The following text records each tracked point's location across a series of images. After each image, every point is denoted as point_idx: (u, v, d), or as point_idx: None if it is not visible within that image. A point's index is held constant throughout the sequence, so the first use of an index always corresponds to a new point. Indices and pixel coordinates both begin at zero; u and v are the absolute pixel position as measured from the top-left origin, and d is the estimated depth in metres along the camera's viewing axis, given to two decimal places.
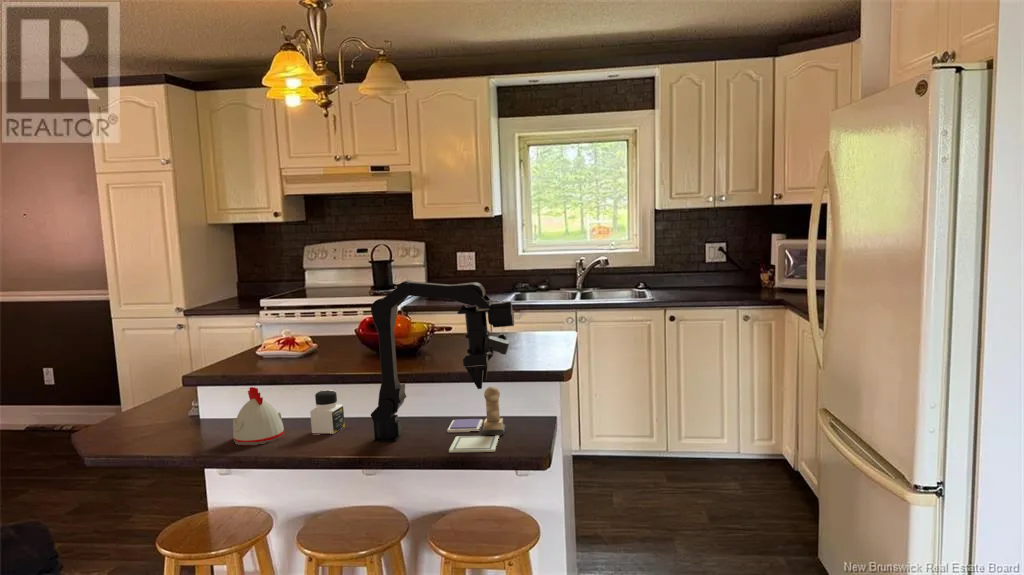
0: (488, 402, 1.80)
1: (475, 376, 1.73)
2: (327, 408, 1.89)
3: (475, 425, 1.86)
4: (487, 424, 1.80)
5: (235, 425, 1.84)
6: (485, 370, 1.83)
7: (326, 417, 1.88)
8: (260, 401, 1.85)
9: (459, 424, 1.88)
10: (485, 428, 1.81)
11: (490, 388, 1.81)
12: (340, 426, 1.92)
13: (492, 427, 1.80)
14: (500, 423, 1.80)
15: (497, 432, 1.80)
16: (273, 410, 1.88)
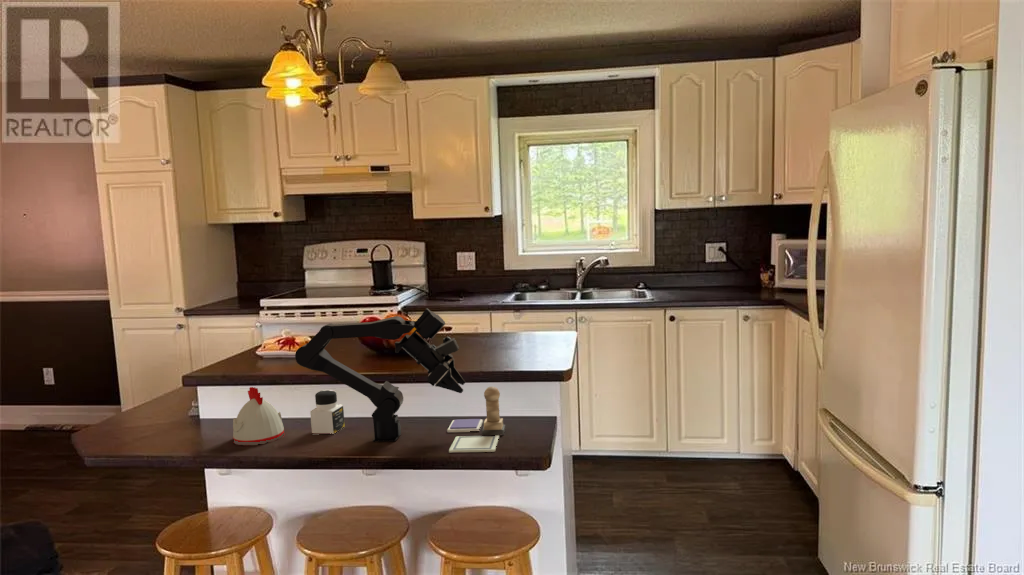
0: (488, 402, 1.80)
1: (450, 385, 1.75)
2: (327, 408, 1.89)
3: (475, 425, 1.86)
4: (487, 424, 1.80)
5: (235, 425, 1.84)
6: (458, 375, 1.86)
7: (326, 417, 1.88)
8: (260, 401, 1.85)
9: (459, 424, 1.88)
10: (485, 428, 1.81)
11: (490, 388, 1.81)
12: (340, 426, 1.92)
13: (492, 427, 1.80)
14: (500, 423, 1.80)
15: (497, 432, 1.80)
16: (273, 410, 1.88)
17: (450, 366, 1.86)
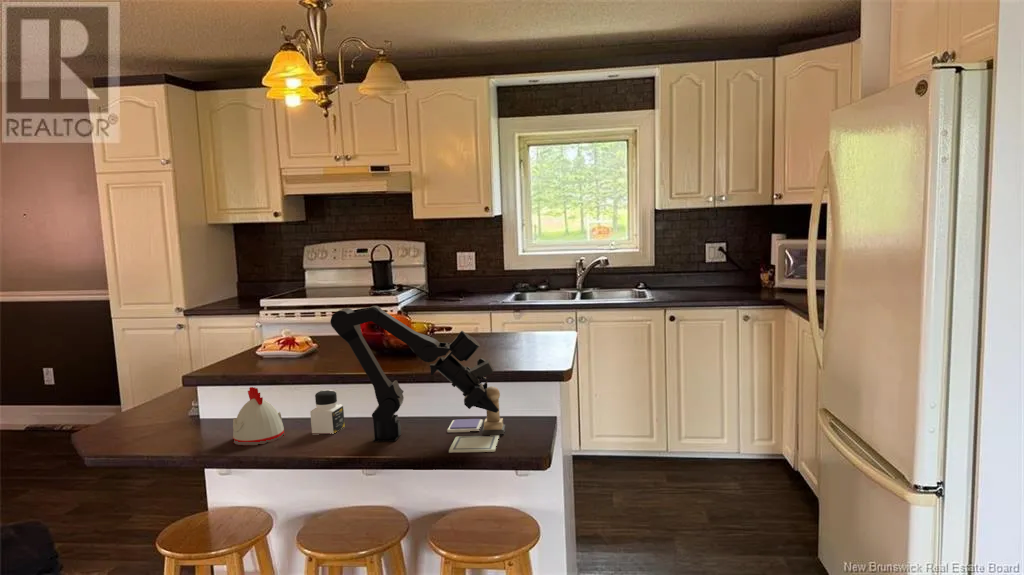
0: None
1: (486, 405, 1.79)
2: (327, 408, 1.89)
3: (475, 425, 1.86)
4: (487, 424, 1.80)
5: (235, 425, 1.84)
6: None
7: (326, 417, 1.88)
8: (260, 401, 1.85)
9: (459, 424, 1.88)
10: (485, 428, 1.81)
11: (490, 388, 1.81)
12: (340, 426, 1.92)
13: (492, 427, 1.80)
14: (500, 423, 1.80)
15: (497, 431, 1.80)
16: (273, 410, 1.88)
17: None
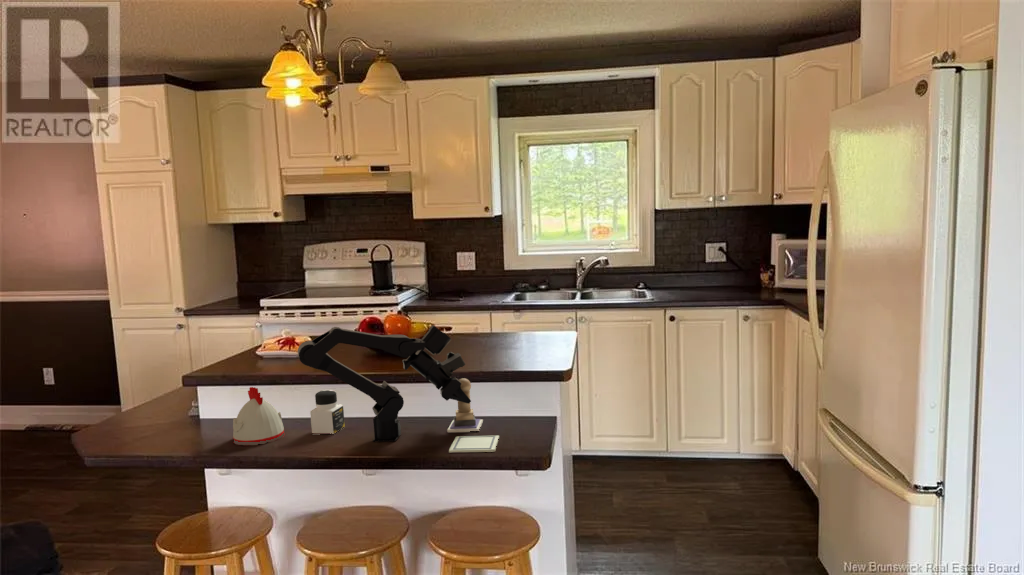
0: None
1: (459, 397, 1.84)
2: (327, 408, 1.89)
3: (475, 425, 1.86)
4: (459, 415, 1.86)
5: (235, 425, 1.84)
6: None
7: (326, 417, 1.88)
8: (260, 401, 1.85)
9: None
10: (457, 419, 1.86)
11: (462, 380, 1.87)
12: (340, 426, 1.92)
13: (464, 417, 1.87)
14: (472, 413, 1.87)
15: (469, 422, 1.86)
16: (273, 410, 1.88)
17: None
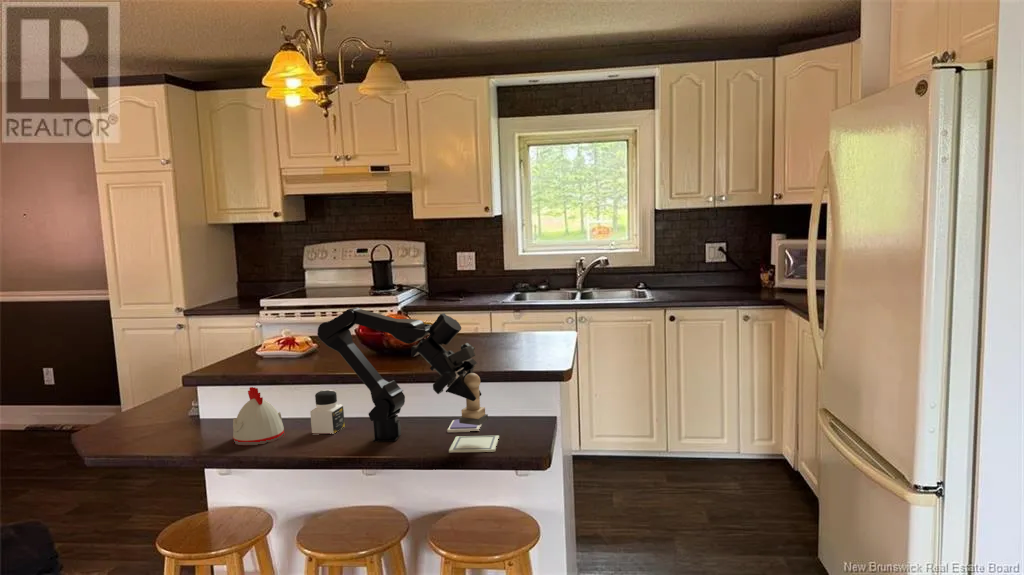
0: None
1: (461, 392, 1.70)
2: (327, 408, 1.89)
3: (475, 425, 1.86)
4: (465, 412, 1.72)
5: (235, 425, 1.84)
6: None
7: (326, 417, 1.88)
8: (260, 401, 1.85)
9: (459, 424, 1.88)
10: (463, 415, 1.73)
11: (469, 374, 1.72)
12: (340, 426, 1.92)
13: (469, 415, 1.72)
14: (477, 412, 1.71)
15: (473, 421, 1.71)
16: (273, 410, 1.88)
17: None
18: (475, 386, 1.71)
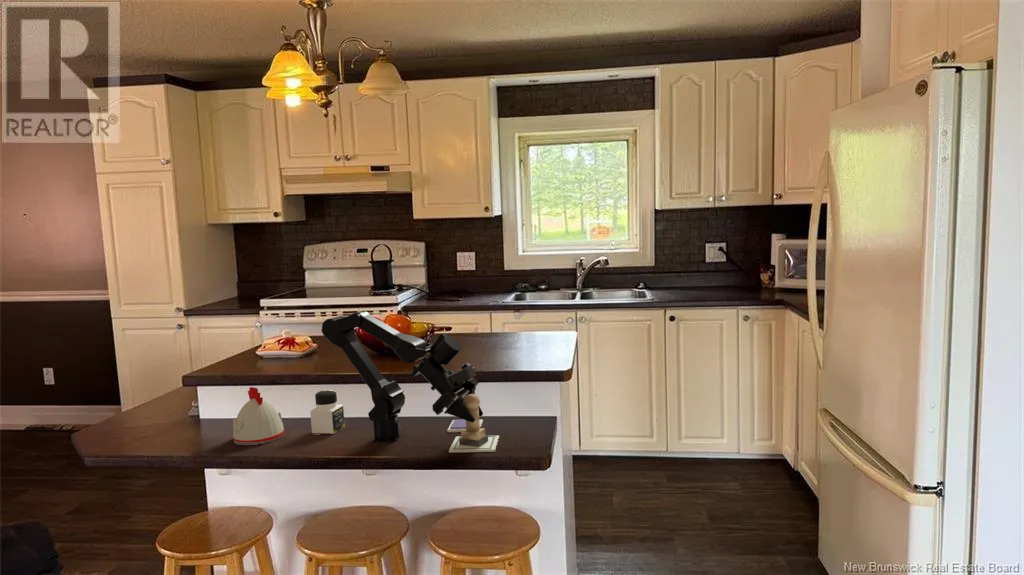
0: None
1: (460, 414, 1.69)
2: (327, 408, 1.89)
3: None
4: (464, 433, 1.72)
5: (235, 425, 1.84)
6: None
7: (326, 417, 1.88)
8: (260, 401, 1.85)
9: (459, 424, 1.88)
10: (462, 437, 1.72)
11: (468, 396, 1.71)
12: (340, 426, 1.92)
13: (469, 437, 1.71)
14: (476, 433, 1.70)
15: (472, 442, 1.70)
16: (273, 410, 1.88)
17: None
18: (474, 407, 1.70)
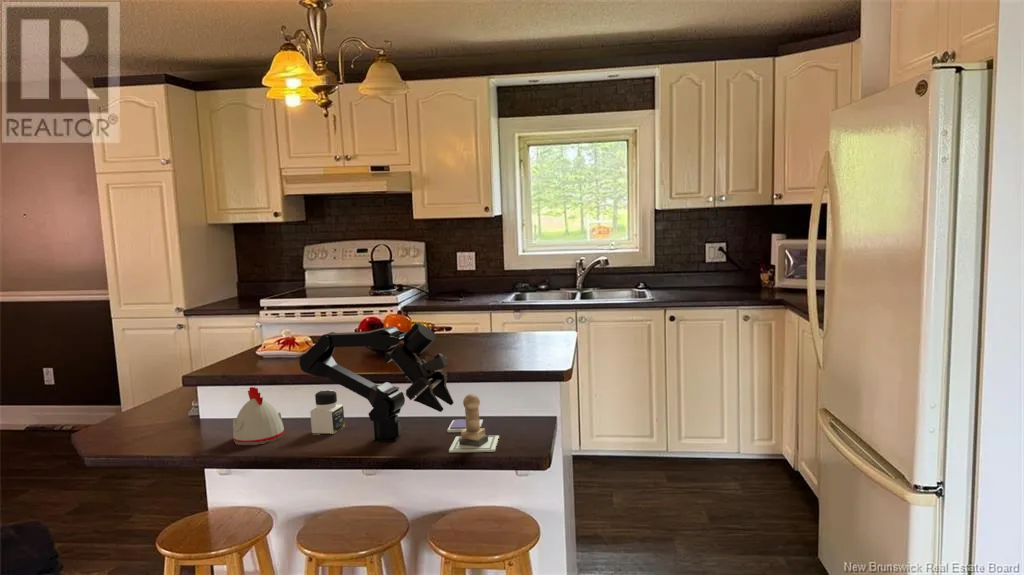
0: (465, 410, 1.71)
1: (429, 402, 1.71)
2: (327, 408, 1.89)
3: None
4: (464, 433, 1.72)
5: (235, 425, 1.84)
6: (447, 394, 1.80)
7: (326, 417, 1.88)
8: (260, 401, 1.85)
9: (459, 424, 1.88)
10: (462, 437, 1.72)
11: (468, 396, 1.71)
12: (340, 426, 1.92)
13: (469, 437, 1.71)
14: (476, 434, 1.70)
15: (472, 442, 1.70)
16: (273, 410, 1.88)
17: (440, 384, 1.81)
18: (474, 407, 1.70)
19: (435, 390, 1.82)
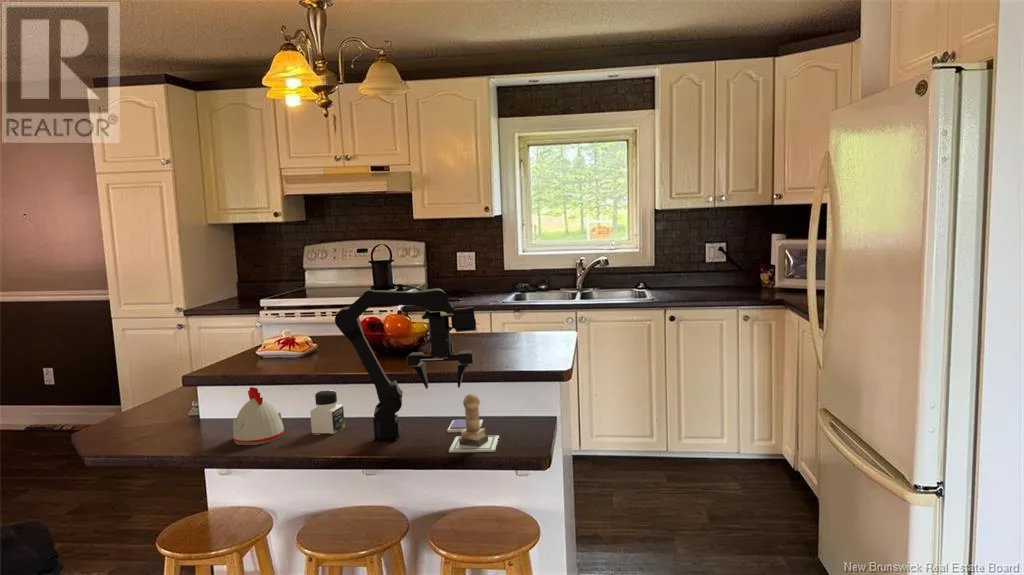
0: (465, 410, 1.71)
1: (462, 374, 1.82)
2: (327, 408, 1.89)
3: None
4: (464, 433, 1.72)
5: (235, 425, 1.84)
6: (426, 377, 1.84)
7: (326, 417, 1.88)
8: (260, 401, 1.85)
9: (459, 424, 1.88)
10: (462, 437, 1.72)
11: (468, 396, 1.71)
12: (340, 426, 1.92)
13: (469, 437, 1.71)
14: (476, 434, 1.70)
15: (472, 442, 1.70)
16: (273, 410, 1.88)
17: (424, 366, 1.85)
18: (474, 407, 1.70)
19: (423, 368, 1.82)
